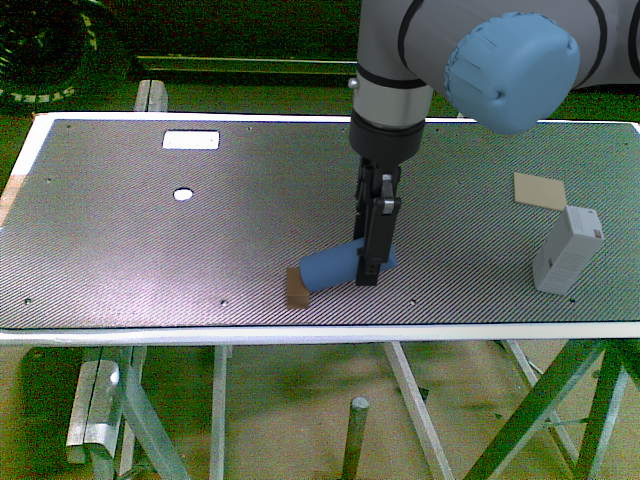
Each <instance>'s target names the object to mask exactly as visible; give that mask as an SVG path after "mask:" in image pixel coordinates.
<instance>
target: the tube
mask: <svg viewBox="0 0 640 480" xmlns="http://www.w3.org/2000/svg"><path fill="white" fill-rule="evenodd" d="M363 243H364V237H363V238H359V239H356V240H353V239H352V240H350V241H347V242H345V243H342V244H339V245H335V246H332V247H329V248H327V249H323V250H320V251H317V252H315V253H311V254H307V255H305V256H302V257H300V259H299V264H298V265H299V268H300V273H301V276H302V279H303V282H304V284H305V286H306V288H307V289H308V290H309V293H317V292H319V291H323V290H326V289H329V288H334V287H336V286H339V285H342V284H346V283H349V282H352V281H356V274H357V268H358V261H359V256H357V248H361V247H363ZM397 267H398V258H397V254H396V250H395V247H394V245H393V243H392V244H391V248H390V253H389V260H388V263H381V267H380V272H379V273H382V272H385V271H389V270H392V269H396V268H397Z"/></svg>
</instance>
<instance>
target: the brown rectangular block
mask: <svg viewBox="0 0 640 480" xmlns="http://www.w3.org/2000/svg"><path fill="white" fill-rule="evenodd" d="M309 308H310V291H309V290H308V289H307V288H306V286H305V284H304V282H303V279H302V276H301V273H300V267H286V310H309Z"/></svg>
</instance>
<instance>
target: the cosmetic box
mask: <svg viewBox="0 0 640 480" xmlns="http://www.w3.org/2000/svg"><path fill="white" fill-rule="evenodd" d="M604 242H605V235H604V233H603V226H602V222H601V221H600V219H599V216H598V212H597V209H593V208H587V207H580V206H575V205H567V206H565V208H564V209H563V211H562V212H561V213H560V215H558V218H557V219H556V220H555V223H554V224H553V226H552V228H551V230H550V231H549V232H548V234H547V236H546V238H545V240H544V242H543V243H542V245H541V247H540V248H539V250H538V251H537V253H536V255H535V256H534V258H533V260H532V263H531V266H532V269H531V270H532V277H533V283H534V289H535V290H536V291H539V292H542V293H548V294H551V295H552V294H553V295H558V296H565V295H566V294H567V292H568V291H569V290H570V288H571V287H572V286H573V284H574V283H575V282H576V280H577V279H578V277H579V276H580V275H581V273H582V272H583V271H584V269H585V268H586V266H588V264H589V262H590V261H591V260H592V258H593V257H594V255H595V254H596V253H597V251H598V250H599V249H600V248H601V246H602V245H603V243H604Z"/></svg>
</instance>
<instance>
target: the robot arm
mask: <svg viewBox="0 0 640 480" xmlns="http://www.w3.org/2000/svg"><path fill="white" fill-rule="evenodd" d="M355 75H356V77H351V78H349V80H348V84H347V86H348V88H349V89H351V90H353V95H352V107H353V108H352V109H351V111H350V112H351V113H350V120H349V121H350V122H349V130H348V143H349V145H350V147H351V149H352V150H353V152H355V153H356V154H357V155H359V164H358V171H357V178H356V188H355V193H354V198H355V201H357V202H356V204H355V211H356V213H357V214H355V217H354V227H353V234H352V241H353V240H356V239H359V238H363V237H364V243H363V247H361V248H357V256H359V261H358V268H357V274H356V280H354V281H355V287H377V285H378V281H379V277H380V273H381V272H380V267H381V263H388V260H389V253H390V248H391V244H393V238H394V235H395V234H394V233H395V228H396V224H397V219H398V216H399V213H400V211H401V208H402V205H403V201H402V197H401V196H397V191H398V184H399V183H400V182H401V178H402V166H401V164H403V163H404V162H406V161H408V160H410V159H412V158H413V157H415V156H416V155H417V154H418V152H419V151H420V149H421V144H422V140H423V136H424V131H425V126H426V118H427V116H428V115H429V112H430V109H431V108H430V107H431V103H432V99H433V95H434V91H435V92H436V93H437V94H439V95H440V96H441V97H442V98H444V99H445V100H446V102H448V103H449V104H451V107H453V108H454V109H455V110H456V111H457V112H458V113H459V114H462V115H463V116H465V117H466V118H470V119H472V120H473V121H475V122H477V123H478V124H480V125H481V126H483V127H484V128H486V129H488V130H489V131H491V132H492V133H495V134H497V135H502V136H514V135H519V134H523V133H525V132H528V131H530V130H532V129H533V128H534V127H535V125H536V124H537V123H538V121H543V120H544V121H545V120H546V119H548V118H549V117H550V116H551V115H553V113H555V111H556V110H557V109H558V108H559V107H560V105H561V104H562V103H563V102H564V100H565V99H566V97H567V96H568V94H569V93H570V91H573V90H577V89H582V88H587V87H592V86H599V85H610V84H614V85H615V84H617V85H618V84H620V85H623V84H624V85H631V84H632V85H633V84H634V85H635V84H636V85H637V84H638V85H640V0H361V7H360V19H359V31H358V41H357V53H356V68H355Z"/></svg>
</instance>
